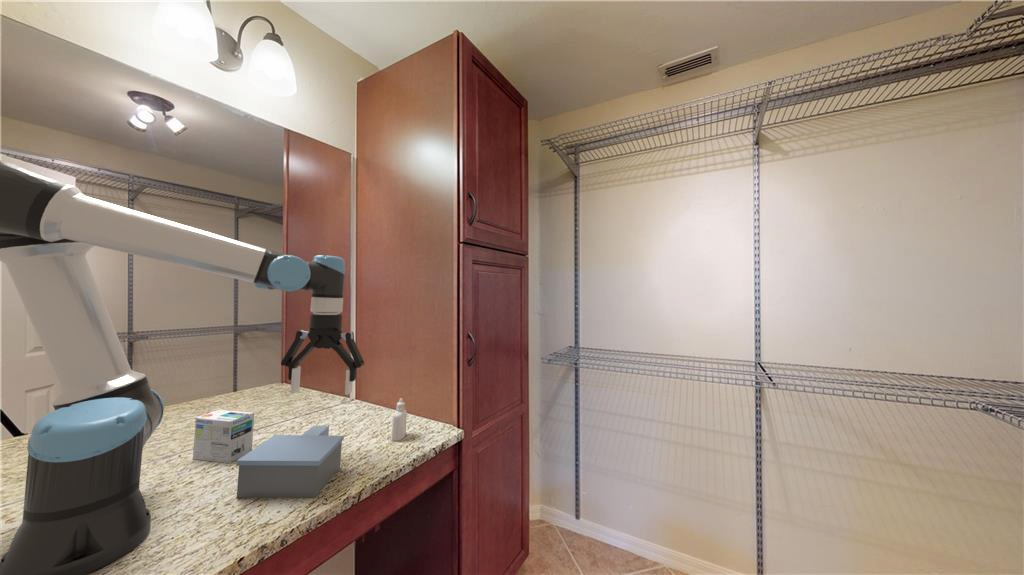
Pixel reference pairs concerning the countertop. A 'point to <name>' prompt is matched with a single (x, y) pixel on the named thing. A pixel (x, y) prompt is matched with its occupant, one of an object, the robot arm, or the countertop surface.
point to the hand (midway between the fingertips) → (321, 392)
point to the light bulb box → (223, 435)
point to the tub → (287, 479)
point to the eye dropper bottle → (399, 422)
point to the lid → (294, 449)
